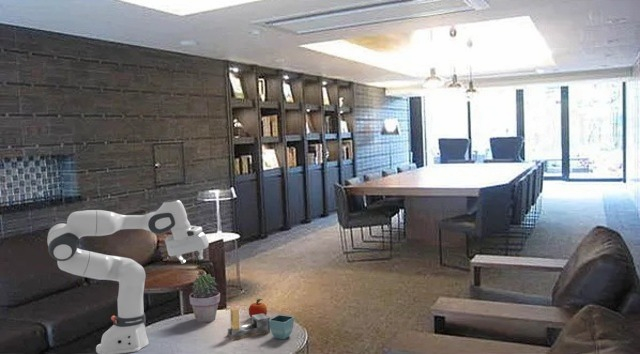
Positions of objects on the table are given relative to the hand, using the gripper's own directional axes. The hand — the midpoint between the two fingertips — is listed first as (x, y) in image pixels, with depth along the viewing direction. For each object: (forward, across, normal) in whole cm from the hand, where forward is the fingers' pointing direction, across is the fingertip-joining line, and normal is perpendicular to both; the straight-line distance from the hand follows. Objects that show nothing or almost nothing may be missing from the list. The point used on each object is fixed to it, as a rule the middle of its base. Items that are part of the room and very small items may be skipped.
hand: (192, 261), depth 255 cm
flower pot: (+47, +28, +7) cm, 55 cm away
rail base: (+42, +10, +8) cm, 44 cm away
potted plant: (+38, -18, +22) cm, 48 cm away
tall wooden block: (+40, +9, +6) cm, 42 cm away
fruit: (+45, +6, +29) cm, 54 cm away
